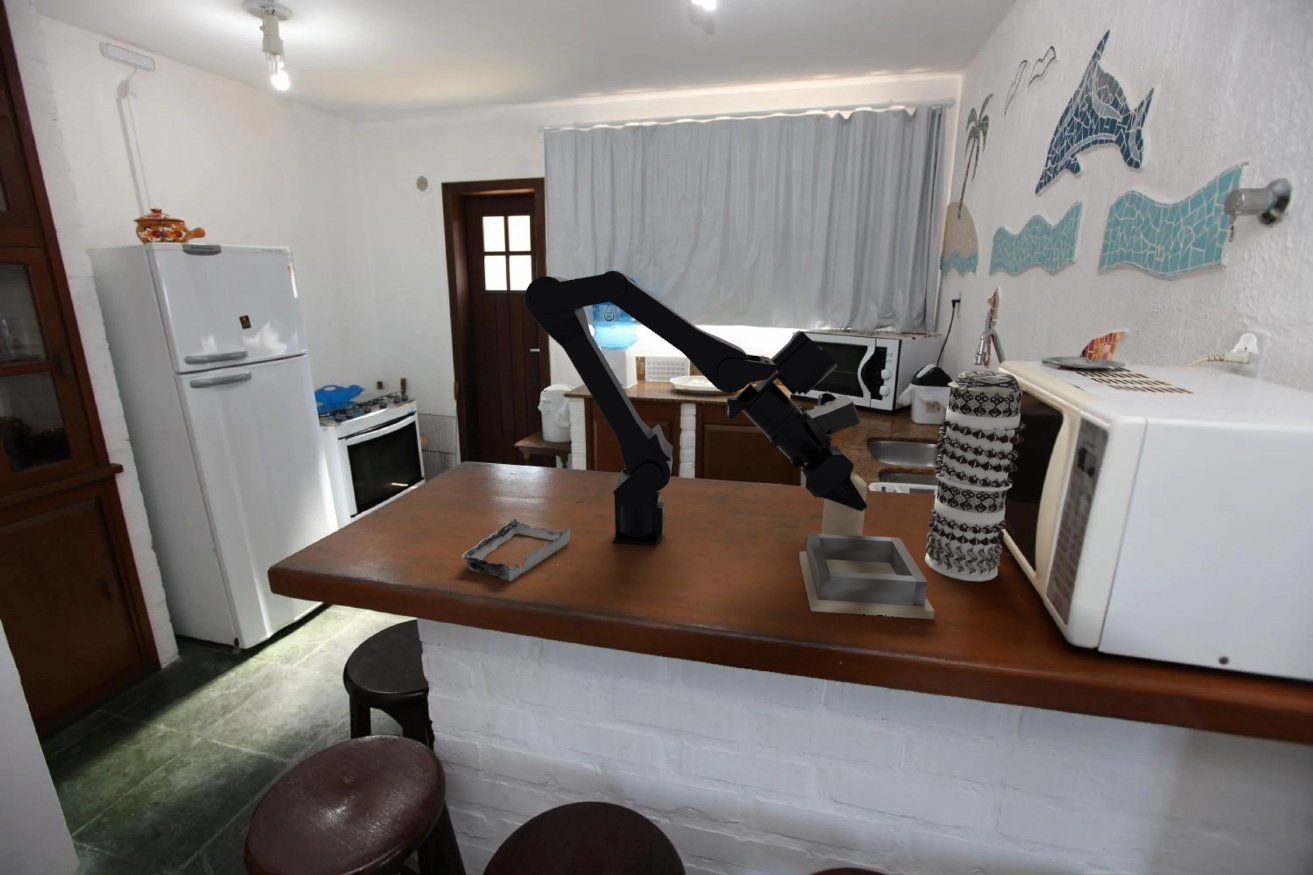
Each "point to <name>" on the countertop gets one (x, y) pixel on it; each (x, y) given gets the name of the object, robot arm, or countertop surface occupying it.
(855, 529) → the candle
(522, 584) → the countertop surface
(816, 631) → the countertop surface
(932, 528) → the decorative candle
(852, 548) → the square tray
